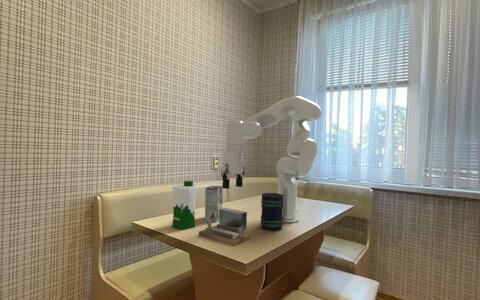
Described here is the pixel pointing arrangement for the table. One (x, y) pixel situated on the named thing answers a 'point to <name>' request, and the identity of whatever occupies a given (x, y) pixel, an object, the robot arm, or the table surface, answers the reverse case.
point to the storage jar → (272, 212)
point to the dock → (224, 234)
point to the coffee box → (213, 202)
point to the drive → (233, 218)
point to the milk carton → (184, 205)
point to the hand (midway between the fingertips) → (232, 187)
